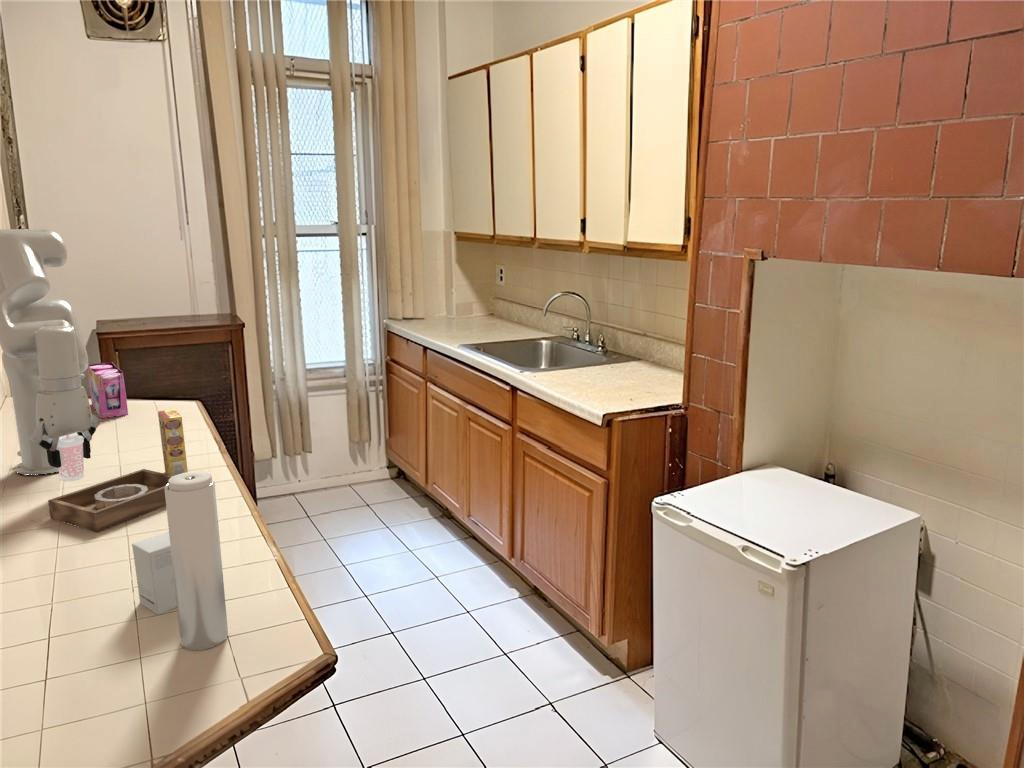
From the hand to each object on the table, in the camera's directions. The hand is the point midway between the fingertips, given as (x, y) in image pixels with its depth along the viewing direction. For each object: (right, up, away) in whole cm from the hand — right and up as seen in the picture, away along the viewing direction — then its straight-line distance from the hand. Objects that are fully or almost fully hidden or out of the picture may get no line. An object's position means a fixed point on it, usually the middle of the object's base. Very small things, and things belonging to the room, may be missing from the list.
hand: (70, 461), depth 166 cm
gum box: (-32, +9, +75) cm, 82 cm away
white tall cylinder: (+53, -20, -56) cm, 80 cm away
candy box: (+17, -5, +13) cm, 23 cm away
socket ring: (+15, -9, -6) cm, 19 cm away
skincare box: (+44, -18, -44) cm, 64 cm away
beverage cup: (0, -4, +1) cm, 4 cm away
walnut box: (+15, -9, -6) cm, 19 cm away
